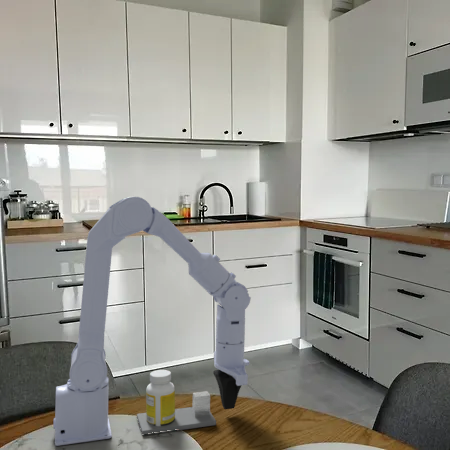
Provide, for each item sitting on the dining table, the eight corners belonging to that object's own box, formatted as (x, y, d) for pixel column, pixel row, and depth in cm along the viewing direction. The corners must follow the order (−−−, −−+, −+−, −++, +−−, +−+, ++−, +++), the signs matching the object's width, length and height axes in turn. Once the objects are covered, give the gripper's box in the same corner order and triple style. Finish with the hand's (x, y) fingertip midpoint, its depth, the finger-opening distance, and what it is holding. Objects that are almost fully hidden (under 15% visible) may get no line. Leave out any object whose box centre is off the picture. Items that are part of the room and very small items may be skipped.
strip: (142, 435, 81) (142, 409, 81) (136, 417, 88) (137, 393, 88) (216, 424, 86) (216, 400, 86) (205, 409, 92) (206, 386, 92)
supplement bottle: (177, 418, 88) (177, 368, 88) (171, 431, 83) (171, 379, 83) (150, 416, 89) (150, 367, 89) (142, 430, 83) (142, 377, 83)
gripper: (263, 349, 84) (261, 421, 85) (236, 329, 98) (234, 391, 98) (227, 353, 82) (226, 426, 82) (205, 331, 96) (203, 394, 96)
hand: (228, 407), depth 90 cm, fingers closed
